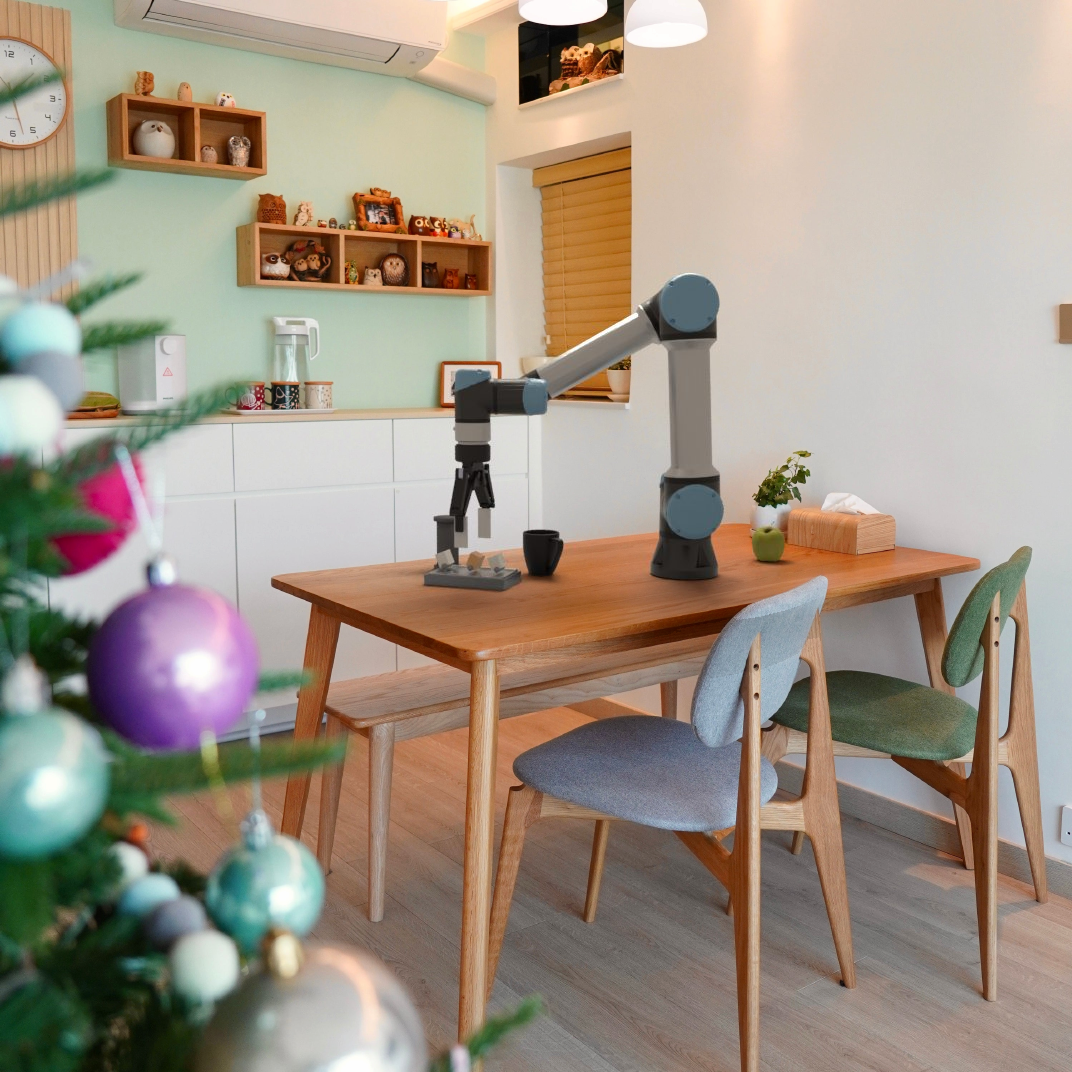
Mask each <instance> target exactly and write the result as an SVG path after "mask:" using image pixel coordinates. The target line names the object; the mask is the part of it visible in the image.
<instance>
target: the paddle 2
mask: <svg viewBox="0 0 1072 1072" xmlns="http://www.w3.org/2000/svg"><path fill="white" fill-rule="evenodd" d="M486 559H487V561H488V565H489V567H491V570H492V571H494V572H496V573H498V572H500V571H502V570H504V569H505V568H506V567H507V565H508V564H507V563H506V560H505V558H504V555H503V552H499V553H495V554H493V555H491V556H489V557H487V558H486Z"/></svg>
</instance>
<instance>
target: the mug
mask: <svg viewBox="0 0 1072 1072" xmlns="http://www.w3.org/2000/svg"><path fill="white" fill-rule="evenodd" d="M564 544H565V543H564V540H563V539H562V538H560V532H559V530H555V529H554V530H553V529H527V530H524V531H523V532H522V551H523V557H524V563H525V565H526V569H527V573H528V575H530V576H535V577H548V576H549V577H550V576H552V575H554V572H555V571H556V569H557V567H558V564H559V562H560V560H561V557H562V554H563V551H564Z"/></svg>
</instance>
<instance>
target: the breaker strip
mask: <svg viewBox="0 0 1072 1072" xmlns="http://www.w3.org/2000/svg"><path fill="white" fill-rule="evenodd" d="M467 567H468V566H466V564H461V565H454V564H453V565H452V566H451V567H448V568H446V569H442V567H441V568H438V569H436V570H435V569H434V570H431V571H429V572H427V573H425V574H423V585H424V586H434V587H435V586H438V587H450V588H451V587H452V588H464V589H465V588H467V589H478V590H493V591H505V590H507V589H509V588H511V587H513V586H514V585H516V584H518V583H520V582H521V581H522V570H518V568H514V567H511V568H510V567H505V569H504V570H502V571H500V572H498V573H496V572H494V571H492V570H491V567H490V566H482V565H481V568H479V569H477V570H472V571H469V570H468V569H467Z"/></svg>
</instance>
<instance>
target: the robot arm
mask: <svg viewBox="0 0 1072 1072" xmlns="http://www.w3.org/2000/svg"><path fill="white" fill-rule="evenodd" d="M719 309H720V295H719V293H718V290H717V288H716V287H715V285H714V283H713V282H712V281H711V280H709V279H708V278H707V277H706V276H705V275H704V276H703V275H701V274H698V273H695V272H692V273H691V272H687V273H680V274H677V275H675V276H673V277H672V278H670V279H669V280H667V282H666V283H665V284H664V286H663V287H662V288H660V290H658V291H657V293H655V294H654V295H653V296H652V297H651V298H648V300H646V301H644V302H642V303H640V304H638V307H637V309H636V311H635V312H634V313H632V314H630V315H629V316H627V317H625V318H623V319H622V320H620V321H618V322H616V323H615V324H613V325H611V326H609V327H608V328H605V329H604V330H602V331H600V332H599V333H597V334H594V335H593V336H592V337H590V338H588V339H586V340H584V341H583V342H580V343H579V344H577V345H575V346H573V347H571V348H570V349H568V350H566V351H565V352H563V353H561V354H559V355H558V356H556V357H554V358H553V359H550V360H549V361H547V362H545V363H543V364H542V365H540V366H538V367H537V368H535V369H533V370H532V371H529V372H527V373H526V374H524V375H522V376H520V377H519V378H495V377H492V375H491V371H490V369H487V368H480V369H479V368H461V369H458V370H457V371H456V372H455V374H454V391H453V393H454V396H453V399H454V426H453V428H452V430H453V431H454V440H455V441H456V442H457V443H456V444H455V445H454V459H455V461H456V462H458V463H461V467H455V471H454V472H455V473H454V483H453V488H452V493H451V499H450V506H449V512H448V513H449V514H448V515H450V516H454V547H457V548H461V549H462V548H463V549H468V548H469V538H468V537H469V536H468V535H469V534H468V533H469V532H468V531H469V530H468V527H469V523H468V522H469V521H468V519H469V518H468V517H469V516H467V513H468V512H467V511H468V508H469V505H470V501H471V497H472V493H473V491H474V494H475V497H476V499H477V500H476V501H477V502H478V505H479V507H478V508H477V539H491V538H492V537H491V536H492V535H491V534H492V533H491V532H492V530H491V529H492V528H491V527H492V525H491V523H492V522H491V521H492V520H491V519H492V515H491V513H492V512H491V511H492V509H495V507H496V503H495V495H494V491H493V490H494V489H493V484H492V479H491V471H490V470H491V469H490V463H489V462H490V461H491V454H492V453H491V452H492V451H491V450H492V449H491V445H490V444H489V442H490V441H491V440H492V438H491V437H492V435H491V433H492V432H491V431H492V430H491V429H492V428H491V425H492V424H491V417H492V416H491V415H496V416H497V415H505V416H507V415H509V416H510V415H511V416H530V417H532V416H542V415H545V414H547V411H548V402H549V401H551V400H552V399H554V398H556V397H558V396H560V395H561V394H563V393H565V392H567V391H569V390H571V389H573V388H574V387H576V386H578V385H580V384H582V383H583V382H585V381H587V380H589V379H590V378H593V377H594V376H596V375H597V374H600V373H601V372H603V371H605V370H607V369H608V368H611V367H612V366H614V365H616V364H618V363H619V362H621V361H623V360H624V359H626V358H628V357H630V356H632V355H634V354H635V353H637V352H639V351H641V350H643V349H645V348H646V347H648V346H650V345H651V344H654V345H659V346H660V345H662V346H663V348H664V349H666V350H667V369H668V370H667V371H668V373H667V374H668V377H667V378H668V405H669V406H668V407H669V409H668V411H669V413H668V414H669V441H670V443H669V444H670V446H669V447H670V467H669V468H668V469H667V470H666V472H663V473H662V474H661V476H660V481H659V484H658V485H659V519H658V520H659V524H658V541H657V544H656V547H655V549H654V553H653V555H652V559H651V560H650V569H649V570H650V574H651V575H653V576H656V577H658V578H659V577H660V578H664V579H672V580H686V581H687V580H690V581H691V580H705V579H711V578H716V577H717V576H718V575H719V563H718V560H717V557H716V552H715V549H714V547H713V543H712V534H713V533H714V532H716V530H717V529H718V528H719V527H720V525H721V523H722V521H723V518H724V511H725V508H724V507H725V505H724V503H723V500H722V498H721V472H720V471H719V470H718V469H717V468H716V467H715V465H714V464H713V445H712V444H713V442H712V439H713V438H712V437H713V435H712V434H713V433H712V432H713V431H712V398H711V397H712V396H711V395H712V393H711V389H712V387H711V352H710V350H711V348H712V346H714V344H715V343H716V342H717V340H718V334H717V333H718V330H717V329H718V321H717V320H718V318H717V316H718V313H719Z"/></svg>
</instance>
